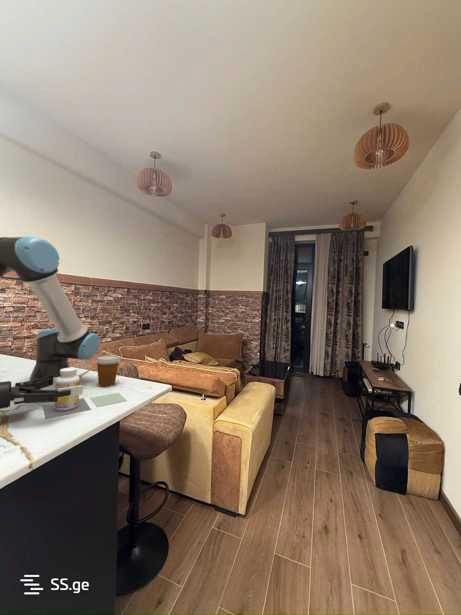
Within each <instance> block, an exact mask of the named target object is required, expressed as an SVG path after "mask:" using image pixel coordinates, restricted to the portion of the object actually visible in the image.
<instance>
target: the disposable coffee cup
mask: <svg viewBox="0 0 461 615" xmlns="http://www.w3.org/2000/svg"><path fill="white" fill-rule="evenodd" d="M120 361H121V359H120V357H119V356H118V355H102V356H101V355H100V356H98V357H96V360H95V362H96V366H97V380H98V386H99V387H102V388H108V387H112V385H113V386H114V385H115V384H116V378H117V375H118V374H117V373H118V369H119V363H120Z"/></svg>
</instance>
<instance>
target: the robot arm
mask: <svg viewBox="0 0 461 615" xmlns="http://www.w3.org/2000/svg"><path fill="white" fill-rule="evenodd" d="M59 261H60V256H59V251H58V250H57V248H56V247H55V246H54V244H52V243H51V242H49V241H48V240H45V239H44V238H40V237H33V236H17V237H16V236H14V237H7V236H6V237H5V236H2V237H0V280H1V279H2V278H3V277H4V276H5V275H6V274H8V273H10V272H14V273H15V274H16V275H17V277H18V278H19V280H20V282H21V283H25V284H28V285H29V286H30V289H31V291H32V292H33V293H34V295H35V296H36V298H37V300H38V301H39V303H40V305H41V306H42V308H43V309H44V311H45V312H46V315H47V316H48V318H49V319H50V321H51V322H52V324H53V326H54V328H50V329H48V328H47V329H41V330H39V331H38V333H37V338H36V356H35V358H36V360H35V361H36V362H35V366H34V367H33V370H32V372H31V374H30V377H29V380H28V381H21V382H16V383H14V386H12V381H10V380H7V381H0V410H1V409H7V408H9V407H10V406H11V402H12V401H13V404H14V405H22V404H38V403H41V404H43V403H55V402H57V401H58V398H63V397H69V396H75V395H79V396H80V395H83V394H84V393H83V390H84V389H83V388H84V385H83V384H82V385H81V384H79V386H74V387H67V388H60V389H58V390H56V389H45V388H48V387H51V386H53V387H56V380H57V379H58V378H59V377H60V376H61V375H60V370H61V369H64V368H71V366H70V364H69V359H70V360H80V361H83V360H91V359H92V358H93V357H95V356H96V354H97V353H98V352H99V349H100V345H101V339H100V336H99V335H98V334H97V333H94V332H93V333H92V332H90V329H89V328H88V326H87V325H86V324H83V323H82V322H81V321H80V318H79V316H78V314H77V313H76V311H75V309H74V308H73V306H72V303H71V302H70V300H69V298H68V296H67V294H66V292H65V290H64V288H63V286H62V285H61V283H60V281H59V279H58V276H57V274H58V273H59V268H58V267H59V266H60V262H59Z"/></svg>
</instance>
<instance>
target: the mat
mask: <svg viewBox="0 0 461 615" xmlns="http://www.w3.org/2000/svg"><path fill="white" fill-rule="evenodd" d="M90 400H91V401H92V402H93V404H94V406H95V407H96V408H99V407H104V406H108V405H113V404H118V403H124V402H127V401H128V400H127V399H126V398H125V397H124V396H123V395H121V393H119V392H114V393H109V394H103V395H98V396H94V397H92V396H91V397H90Z"/></svg>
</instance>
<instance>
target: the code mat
mask: <svg viewBox="0 0 461 615" xmlns="http://www.w3.org/2000/svg"><path fill="white" fill-rule="evenodd" d="M42 410H43V412H44V419H45V420H49V419H53V418H58V417H62V416H68V415H73V414H77V413H81V412H86V411H91V410H92V409H91V407H90V406H89V404H88V402H87V401H86V399H85V398H84V397H83V398H79V403H78V406H77V407H75V408H73V409H70V410H65V411H59V410H56V409H55V402H53V403H48V404H45V405H44V404H43V405H42Z"/></svg>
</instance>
